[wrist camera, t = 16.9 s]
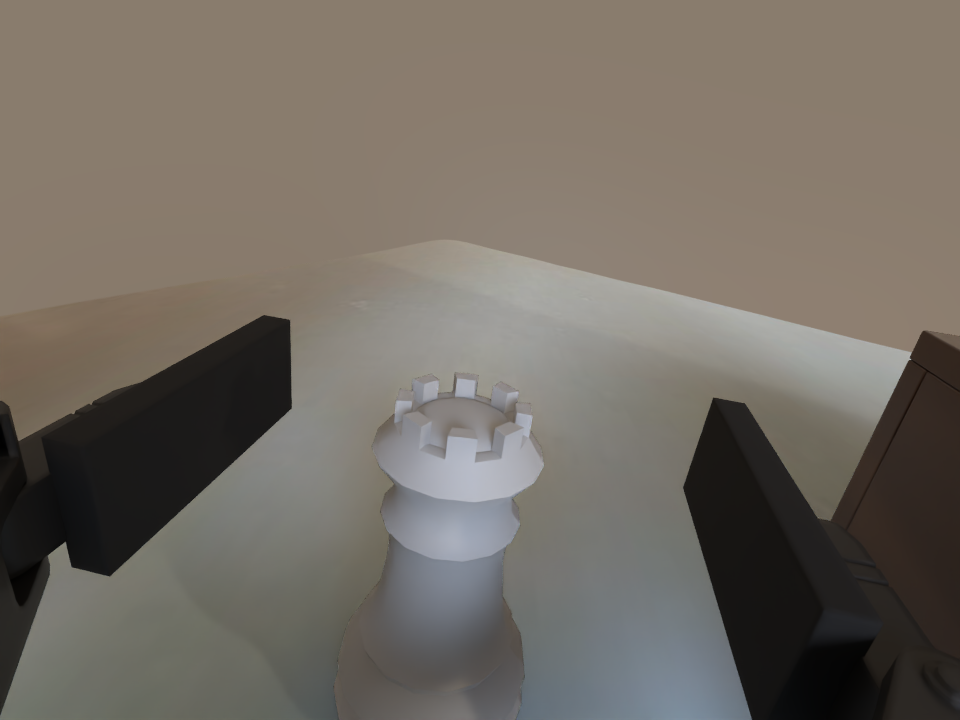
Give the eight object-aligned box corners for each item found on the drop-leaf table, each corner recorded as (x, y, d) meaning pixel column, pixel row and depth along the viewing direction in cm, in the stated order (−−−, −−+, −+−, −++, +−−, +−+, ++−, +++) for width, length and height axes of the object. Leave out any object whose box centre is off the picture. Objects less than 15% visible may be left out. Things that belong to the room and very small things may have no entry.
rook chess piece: (528, 637, 15) (588, 377, 12) (503, 825, 11) (583, 503, 7) (375, 597, 15) (391, 339, 12) (296, 760, 11) (289, 437, 8)
